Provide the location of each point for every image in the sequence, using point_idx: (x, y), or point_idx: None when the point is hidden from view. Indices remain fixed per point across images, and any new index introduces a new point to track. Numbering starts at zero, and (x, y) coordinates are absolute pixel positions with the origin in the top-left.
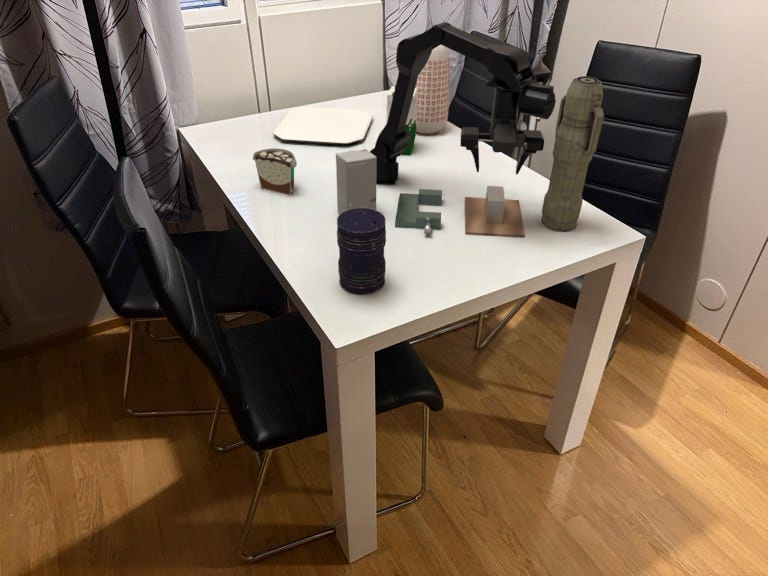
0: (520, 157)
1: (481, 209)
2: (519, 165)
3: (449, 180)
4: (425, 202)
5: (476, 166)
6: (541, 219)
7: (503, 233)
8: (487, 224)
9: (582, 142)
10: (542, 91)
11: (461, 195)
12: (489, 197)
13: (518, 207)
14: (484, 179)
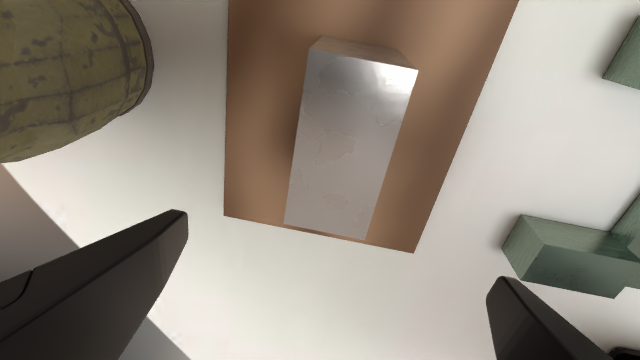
0: (19, 356)
1: None
2: (105, 258)
3: (420, 345)
4: (589, 234)
5: (564, 323)
6: (146, 63)
7: None
8: (394, 32)
9: None
10: None
11: (414, 269)
12: (393, 116)
13: (231, 166)
14: (312, 336)
